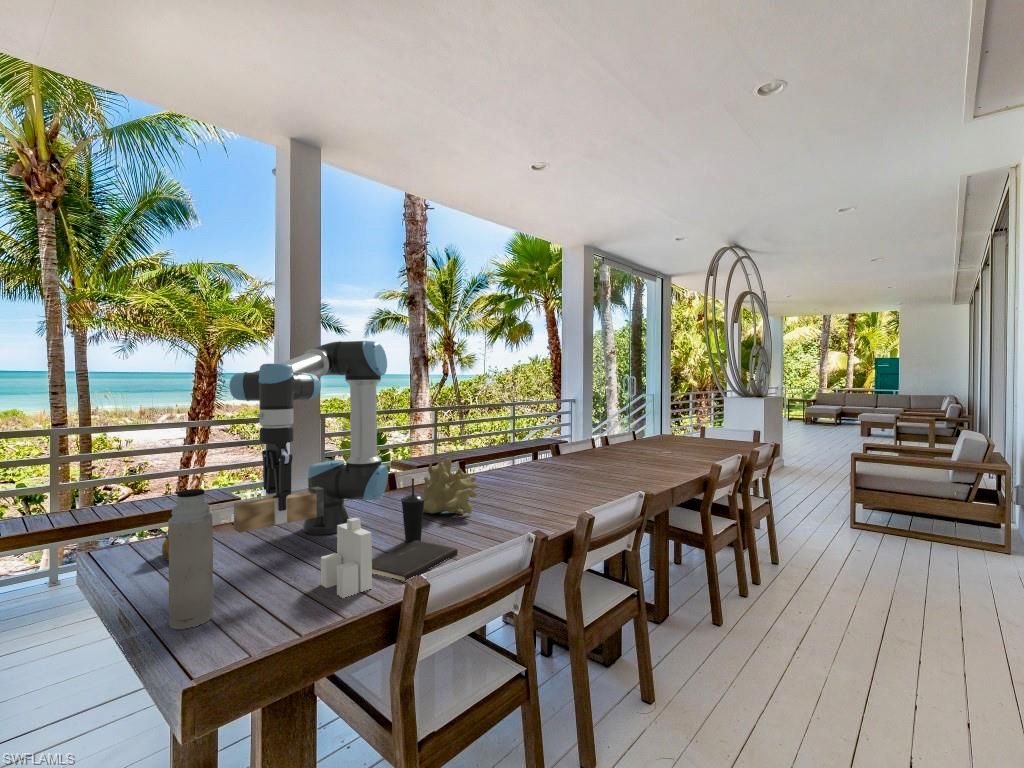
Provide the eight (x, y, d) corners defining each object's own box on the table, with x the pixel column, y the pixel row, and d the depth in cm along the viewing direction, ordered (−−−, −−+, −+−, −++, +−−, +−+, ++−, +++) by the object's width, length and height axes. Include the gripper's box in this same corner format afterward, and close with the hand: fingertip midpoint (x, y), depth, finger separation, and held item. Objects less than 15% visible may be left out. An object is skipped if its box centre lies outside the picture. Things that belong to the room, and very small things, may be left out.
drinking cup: (420, 545, 153) (419, 481, 153) (397, 544, 155) (396, 480, 155) (429, 538, 161) (428, 476, 161) (407, 536, 162) (406, 475, 162)
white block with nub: (320, 584, 125) (320, 519, 125) (348, 575, 130) (347, 513, 130) (343, 599, 116) (342, 529, 116) (372, 589, 122) (371, 522, 122)
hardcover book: (359, 573, 133) (359, 564, 133) (415, 547, 154) (415, 540, 153) (405, 585, 126) (405, 576, 126) (457, 556, 146) (457, 548, 146)
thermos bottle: (160, 630, 102) (159, 495, 102) (183, 612, 110) (181, 486, 110) (201, 628, 103) (199, 494, 102) (220, 610, 111) (219, 486, 110)
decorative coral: (410, 476, 204) (455, 439, 199) (445, 513, 208) (490, 478, 203) (393, 506, 179) (444, 465, 175) (434, 547, 183) (485, 508, 178)
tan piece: (239, 532, 114) (239, 502, 114) (234, 528, 116) (233, 499, 116) (324, 515, 128) (324, 488, 128) (317, 512, 131) (317, 486, 131)
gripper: (248, 425, 125) (248, 517, 125) (273, 429, 113) (274, 532, 113) (279, 423, 130) (279, 512, 130) (306, 427, 118) (306, 525, 118)
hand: (277, 521), depth 121 cm, fingers closed on tan piece, 4 cm apart
